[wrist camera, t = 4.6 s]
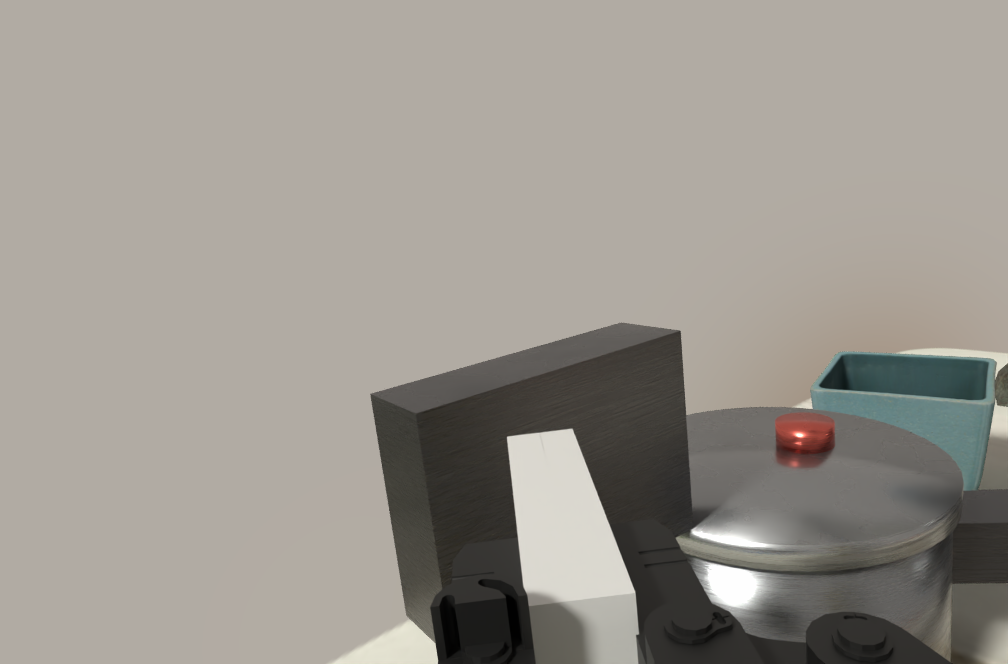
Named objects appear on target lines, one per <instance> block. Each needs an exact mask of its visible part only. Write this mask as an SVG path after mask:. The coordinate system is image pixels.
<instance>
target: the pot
mask: <svg viewBox="0 0 1008 664" xmlns="http://www.w3.org/2000/svg"><path fill="white" fill-rule="evenodd" d="M684 554H685V556H686V558H687V560H688V563H690V565H691V567H692V569H693V570H694V572H695V574H696V576H697V578H698V579H699V581H700V583H701V585H702V587H703V588H704V590H705V592H706V594H707V595H708V597H709V599H710V601H711V603H712V604H715V605H717V606H719V607H721V608H723V609H725V610H727V611H729V612H730V613H731V614H732V615H733V616H734V617H735V618H736V619H737V620H738V621H739V622H740V624H741V625H742V627H743V629H744V630H745V632H746V633H748V634H751V635H754V636H757V637H761V638H767V639H773V640H782V641H793V642H804V643H806V630H807V628H808V627H809V625H810V624H811V622H812V621H813V620H815V619H817V618H819V617H821V616H823V615H825V614H830V613H837V612H858V613H865V614H869V615H872V616H876V617H879V618H883V619H886V620H888V621H890V622H891V623H893V624H895V625H897V626H899V627H901V628H903V629H904V630H906V631H907V632H909V633H910V634H911V635H913V636H914V637H916V638H917V639H918V640H920V641H921V642H923V643H924V644H926V645H927V646H928V647H930V648H931V649H933V650H934V651H935V652H937V653H938V654H940V655H941V656H942V657H944V658H945V659H947V660H948V661H950V662H951V614H952V583H1008V489H1006V490H971V491H963V511H962V516H961V519H960V521H959V523H958V524H957V526H956V528H955V529H954V530H953V531H952V532H951V533H950V534H949V535H948V536H947V537H946V538H945V539H943V540H942V541H940V542H939V543H937V544H935V545H934V546H932V547H931V548H928V549H926V550H924V551H922V552H919V553H917V554H915V555H913V556H909V557H906V558H903V559H900V560H896V561H893V562H889V563H885V564H880V565H875V566H870V567H864V568H855V569H847V570H837V571H814V572H805V571H777V570H766V569H755V568H749V567H742V566H736V565H730V564H725V563H720V562H716V561H712V560H707V559H703V558H700V557H696V556H693V555H690V554H687V553H684Z"/></svg>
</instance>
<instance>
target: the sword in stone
mask: <svg viewBox="0 0 1008 664" xmlns="http://www.w3.org/2000/svg"><path fill="white" fill-rule="evenodd" d="M995 398H996V400H997V405H999V406H1006V407H1008V364H1007V365H1005V366H1004V367H1003V368H1002V369H1001V370H1000V371H999V372H998V374H997V377H996V380H995Z"/></svg>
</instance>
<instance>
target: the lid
mask: <svg viewBox="0 0 1008 664" xmlns="http://www.w3.org/2000/svg"><path fill="white" fill-rule="evenodd" d="M371 401H372V407H373V413H374V419H375V425H376V432H377V437H378V444H379V450H380V456H381V462H382V468H383V474H384V480H385V487H386V493H387V499H388V504H389V511H390V517H391V524H392V530H393V535H394V542H395V548H396V554H397V560H398V566H399V573H400V579H401V585H402V591H403V597H404V603H405V609H406V615H407V616H408V617H409V618H410V619H411V620H412V621H413V622H414V623H415V624H416V625H417V626H418V627H419V628H420V629H421V630H422V631H423V632H424V633H425V634H426V635H427V636H428V637H430V638H431V639H432V640H433V641H434V642H435V636H434V629H433V623H432V616H431V610H430V606H431V604H432V602H433V599H434V597H435V595H437V594H438V593H439V592H440V591H441V590H442V589H443V588H444V587H445V586H447V585H449V584H451V583H452V570H453V560H454V558H455V557H456V556H457V554H458V553H459V552H460V550H461V549H462V548H463V546H464V545H465V544H470V543H479V542H487V541H495V540H503V539H511V538H518V533H517V524H516V515H515V506H514V497H513V488H512V479H511V470H510V461H509V452H508V443H507V437H508V436H516V435H524V434H532V433H541V432H549V431H557V430H565V429H573V431H574V434H575V437H576V439H577V442H578V445H579V447H580V450H581V452H582V455H583V458H584V460H585V463H586V465H587V468H588V471H589V473H590V476H591V478H592V481H593V484H594V486H595V489H596V491H597V494H598V497H599V499H600V502H601V504H602V507H603V510H604V512H605V515H606V517H607V520H608V523H609V524H616V523H624V522H633V521H641V520H649V519H654V520H655V521H657V522H658V523H660V524H662V525H663V526H665V527H666V528H668V529H669V530H671V531H672V533H673V534H674V536H675V538H676V540H677V542H678V543H679V545H680V548H681V550H682V551H683V552H684V553H687V554H690V555H693V556H696V557H700V558H703V559H707V560H712V561H716V562H720V563H725V564H730V565H736V566H742V567H749V568H755V569H766V570H777V571H805V572H814V571H837V570H847V569H855V568H864V567H870V566H875V565H880V564H885V563H889V562H893V561H896V560H900V559H903V558H906V557H909V556H913V555H915V554H917V553H919V552H922V551H924V550H926V549H928V548H931V547H932V546H934V545H935V544H937V543H939V542H940V541H942V540H943V539H945V538H946V537H947V536H948V535H949V534H950V533H951V532H952V531H953V530H954V529H955V528H956V526H957V524H958V523H959V521H960V519H961V516H962V511H963V489H964V482H963V476H962V472H961V470H960V468H959V466H958V465H957V463H956V462H955V461H954V460H953V459H952V457H951V456H950V455H949V454H948V453H946V452H945V451H944V450H942V449H941V448H940V447H939V446H937V445H935V444H934V443H932V442H930V441H929V440H927V439H925V438H923V437H921V436H919V435H917V434H914V433H912V432H910V431H907V430H905V429H902V428H899V427H897V426H894V425H890V424H887V423H884V422H880V421H877V420H873V419H869V418H864V417H860V416H855V415H850V414H844V413H839V412H831V411H824V410H815V409H804V408H786V407H753V408H752V407H751V408H734V409H723V410H715V411H707V412H701V413H695V414H691V415H686V407H685V392H684V377H683V360H682V345H681V331H679V330H671V329H664V328H656V327H649V326H641V325H635V324H627V323H618V324H615V325H611V326H608V327H604V328H601V329H597V330H594V331H590V332H587V333H583V334H580V335H576V336H573V337H569V338H566V339H562V340H559V341H555V342H552V343H548V344H545V345H541V346H537V347H534V348H530V349H527V350H523V351H520V352H517V353H513V354H509V355H506V356H502V357H499V358H496V359H492V360H488V361H485V362H481V363H478V364H475V365H471V366H467V367H464V368H460V369H457V370H453V371H450V372H447V373H443V374H440V375H436V376H432V377H429V378H425V379H422V380H418V381H414V382H411V383H407V384H404V385H400V386H397V387H393V388H390V389H386V390H383V391H379V392H376V393H372V394H371ZM435 643H436V642H435Z"/></svg>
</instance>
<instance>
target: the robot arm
mask: <svg viewBox="0 0 1008 664" xmlns="http://www.w3.org/2000/svg"><path fill="white" fill-rule="evenodd" d="M507 443H508V452H509V461H510V470H511V479H512V488H513V497H514V506H515V515H516V524H517V533H518V538H511V539H503V540H495V541H487V542H479V543H470V544H465V545H464V546H463V548H462V549H461V550H460V552H459V553H458V554H457V556H456V557H455V558H454V560H453V570H452V583H451V584H449V585H447V586H445V587H444V588H443V589H442V590H441V591H440V592H439V593H438V594H437V595H435V597H434V599H433V602H432V604H431V606H430V610H431V616H432V623H433V629H434V636H435V642H436V649H437V656H438V664H952V663H951V662H950V661H948V660H947V659H945V658H944V657H942V656H941V655H940V654H938V653H937V652H935V651H934V650H933V649H931V648H930V647H928V646H927V645H926V644H924V643H923V642H921V641H920V640H918V639H917V638H916V637H914V636H913V635H911V634H910V633H909V632H907V631H906V630H904V629H903V628H901V627H899V626H897V625H895V624H893V623H891V622H890V621H888V620H886V619H883V618H879V617H876V616H872V615H869V614H865V613H858V612H837V613H830V614H825V615H823V616H821V617H819V618H817V619H815V620H813V621H812V622H811V624H810V625H809V627H808V628H807V630H806V643H804V642H793V641H782V640H773V639H767V638H761V637H757V636H754V635H751V634H748V633H746V632H745V630H744V629H743V627H742V625H741V624H740V622H739V621H738V620H737V619H736V618H735V617H734V616H733V615H732V614H731V613H730V612H729V611H727V610H725V609H723V608H721V607H719V606H717V605H715V604H712V603H711V601H710V599H709V597H708V595H707V594H706V592H705V590H704V588H703V587H702V585H701V583H700V581H699V579H698V578H697V576H696V574H695V572H694V570H693V569H692V567H691V565H690V563H688V560H687V558H686V556H685V554H684V552H683V551H682V550H681V548H680V545H679V543H678V542H677V540H676V538H675V536H674V534H673V533H672V531H671V530H669V529H668V528H666V527H665V526H663V525H662V524H660V523H658V522H657V521H655V520H654V519H649V520H641V521H633V522H624V523H616V524H609V523H608V520H607V517H606V515H605V512H604V510H603V507H602V504H601V502H600V499H599V497H598V494H597V491H596V489H595V486H594V484H593V481H592V478H591V476H590V473H589V471H588V468H587V465H586V463H585V460H584V458H583V455H582V452H581V450H580V447H579V445H578V442H577V439H576V437H575V434H574V431H573V429H565V430H557V431H549V432H541V433H532V434H524V435H516V436H508V437H507Z"/></svg>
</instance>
